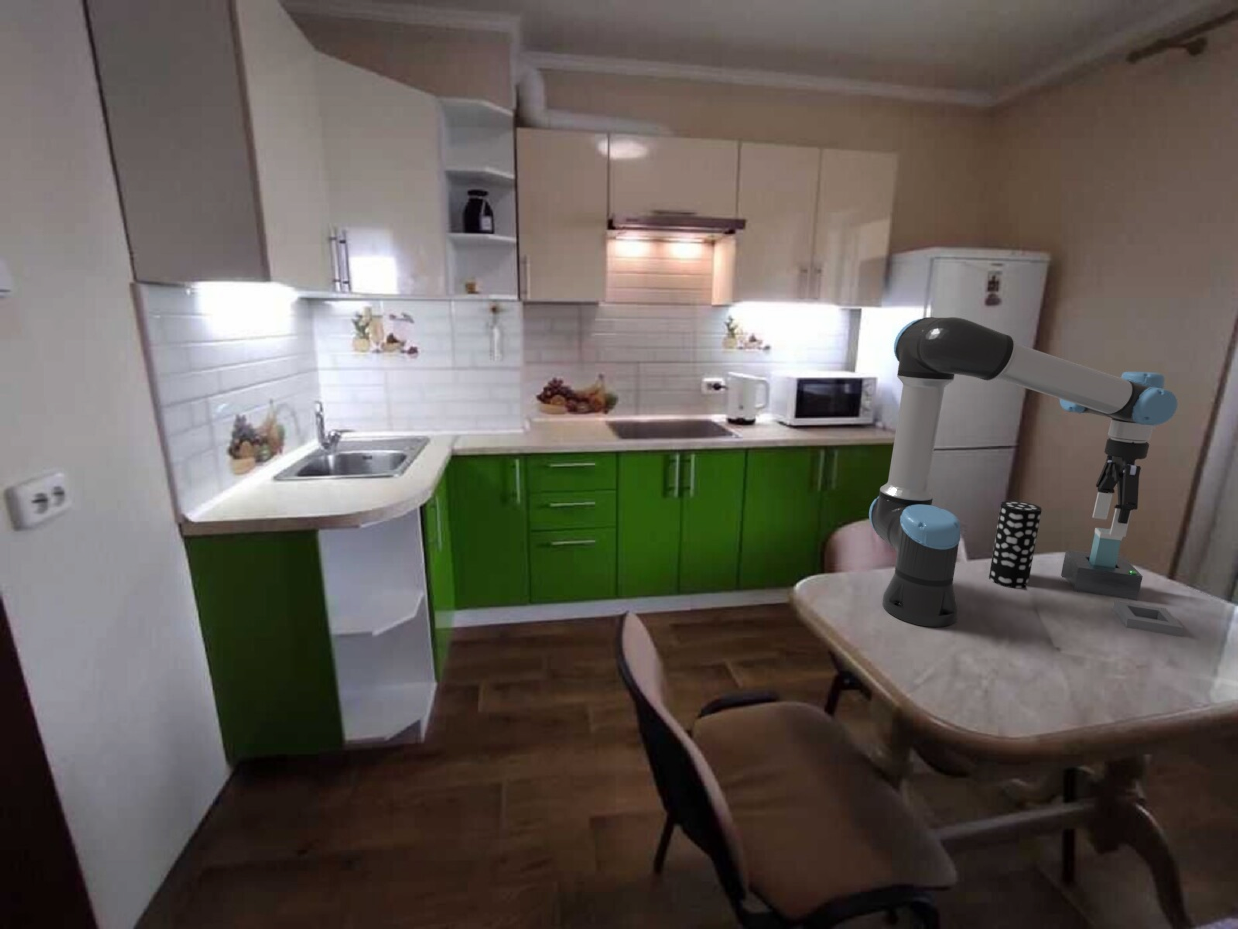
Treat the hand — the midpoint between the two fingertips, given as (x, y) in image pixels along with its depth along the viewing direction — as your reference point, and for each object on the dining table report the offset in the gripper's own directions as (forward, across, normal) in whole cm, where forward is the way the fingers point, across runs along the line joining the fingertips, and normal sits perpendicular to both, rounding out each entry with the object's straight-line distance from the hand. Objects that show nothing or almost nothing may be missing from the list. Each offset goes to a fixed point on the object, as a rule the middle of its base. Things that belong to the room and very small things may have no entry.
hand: (1108, 526), depth 140 cm
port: (+16, 0, -1) cm, 16 cm away
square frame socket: (+16, -18, -5) cm, 24 cm away
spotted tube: (+17, -4, +18) cm, 25 cm away
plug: (+13, 0, -1) cm, 13 cm away
